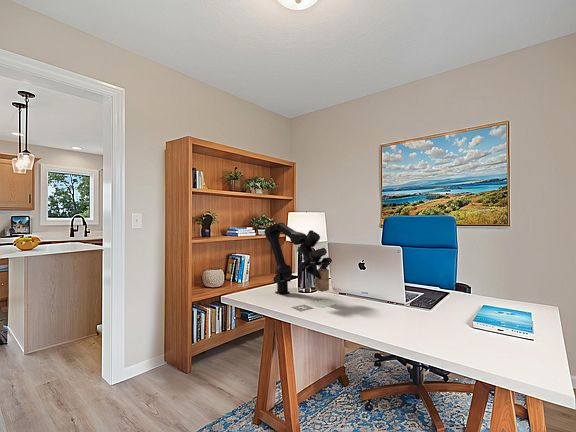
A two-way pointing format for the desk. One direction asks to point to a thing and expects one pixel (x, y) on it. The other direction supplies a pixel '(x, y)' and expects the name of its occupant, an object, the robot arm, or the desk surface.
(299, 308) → the slate tile
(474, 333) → the desk surface
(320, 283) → the walnut block
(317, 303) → the sage plate
